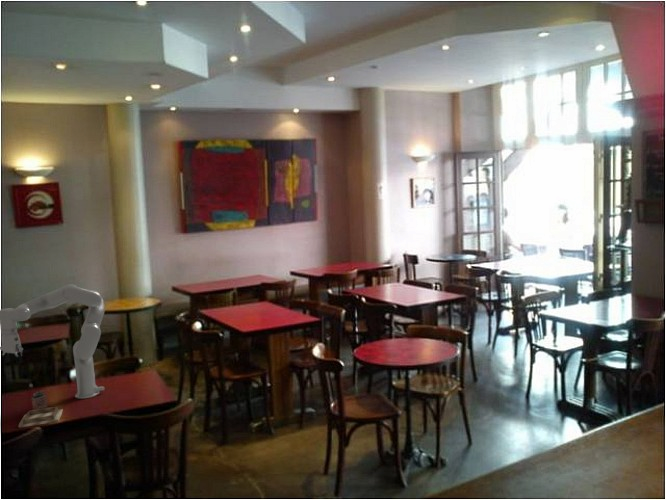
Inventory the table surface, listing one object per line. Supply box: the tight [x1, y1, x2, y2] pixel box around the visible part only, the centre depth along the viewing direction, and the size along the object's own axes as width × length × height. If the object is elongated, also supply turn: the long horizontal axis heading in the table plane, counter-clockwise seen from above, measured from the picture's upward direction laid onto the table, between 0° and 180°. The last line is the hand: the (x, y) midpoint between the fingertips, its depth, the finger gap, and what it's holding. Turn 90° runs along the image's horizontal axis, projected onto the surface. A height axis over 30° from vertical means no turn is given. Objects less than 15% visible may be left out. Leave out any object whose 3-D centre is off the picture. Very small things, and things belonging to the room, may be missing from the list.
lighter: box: [30, 389, 49, 410], centre depth 322 cm, size 8×3×10 cm, turn 148°
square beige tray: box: [18, 406, 64, 429], centre depth 308 cm, size 18×16×3 cm
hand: (13, 362), depth 324 cm, fingers open, 9 cm apart
